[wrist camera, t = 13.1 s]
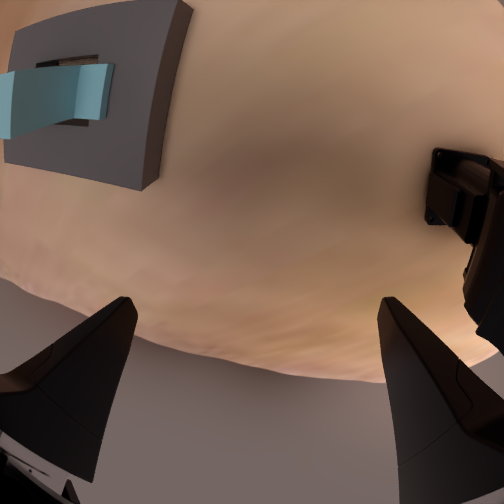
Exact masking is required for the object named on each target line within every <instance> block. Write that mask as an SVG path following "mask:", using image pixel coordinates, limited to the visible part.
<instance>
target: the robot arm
mask: <svg viewBox="0 0 504 504" xmlns="http://www.w3.org/2000/svg"><path fill="white" fill-rule="evenodd" d="M439 152H440V156H439V157H438V153H439ZM486 161H487V163H486ZM426 204H427V207H426V213H425V221H426V223H427V224H428V225H447V226H448V227H450V228H452V229H453V230H454V231H455V232H456V233H457V235H458V236H459V237H460V238H461V239H462V240H463V241H464V242H465V243H466V244H470V245H471V246H472V247H473V250H472V253H471V256H470V259H469V262H468V265H467V268H465V270H464V273H463V277H464V285H463V293H464V298H465V303H464V307H465V309H466V310H467V312H468V314H469V316H470V317H471V318H472V320H473V321H474V322H475V323H476V324H477V325H478V328H477V330H476V334H477V335H478V336H480V337H482V338H484V339H486V340H488V341H489V342H490V343H492V344H493V345H494V346H495V347H496V348H497V349H498V350H499V351H500V352H501V353H502V354H503V356H504V161H501V160H496V159H492V158H489V157H487V156H484V155H479V154H474V153H469V152H463V151H457V150H451V149H444V148H435V149H434V151H433V157H432V168H431V173H430V175H429V184H428V192H427V199H426ZM430 217H432V219H431V220H429V218H430ZM137 320H138V313H137V310H136V308H135V306H134V304H133V302H132V300H131V298H130V297H123V296H121V297H119V298H117V299H116V300H114V301H113V302H111V303H110V304H108V305H107V306H105V307H104V308H102V309H101V310H99V311H98V312H96V313H95V314H94V315H92V316H91V317H89V318H88V319H86V320H85V321H84V322H82V323H81V324H79V325H78V326H76V327H75V328H74V329H72V330H71V331H69V332H68V333H66V334H65V335H64V336H62V337H61V338H59V339H58V340H57V341H55V342H54V343H53V344H51V345H50V346H48V347H47V348H45V349H44V350H43V351H41V352H40V353H38V354H37V355H36V356H34V357H32V358H31V359H29V360H28V361H26V362H24V363H23V364H21V365H20V366H18V367H16V368H15V369H14V370H12V371H10V372H8V373H6V374H0V504H80V502H79V500H78V497H77V495H76V492H75V490H74V487H73V485H72V482H71V480H69V479H67V478H68V475H69V473H70V474H73V475H75V476H77V477H79V478H81V479H83V480H85V481H88V482H90V483H92V482H93V479H94V474H95V469H96V465H97V460H98V456H99V452H100V447H101V444H102V439H103V435H104V432H105V428H106V424H107V421H108V417H109V414H110V410H111V406H112V403H113V400H114V397H115V393H116V390H117V387H118V384H119V381H120V377H121V375H122V371H123V369H124V366H125V363H126V360H127V357H128V354H129V351H130V347H131V343H132V339H133V335H134V331H135V327H136V323H137ZM377 322H378V330H379V338H380V347H381V356H382V363H383V368H384V373H385V378H386V383H387V388H388V394H389V400H390V406H391V412H392V419H393V426H394V434H395V442H396V450H397V462H398V477H399V499H400V504H504V400H503V399H502V398H501V397H500V396H499V395H498V394H497V393H496V392H494V391H493V390H492V389H491V388H490V387H489V386H488V385H486V384H485V383H484V382H483V381H482V380H481V379H480V378H479V377H478V376H477V375H476V374H475V373H473V371H472V370H470V368H468V367H467V366H466V365H465V363H464V362H463V361H462V360H461V359H459V358H458V356H457V355H456V354H455V353H454V352H453V351H452V350H451V349H450V348H449V347H448V346H447V345H446V344H445V343H444V342H442V341H441V340H440V339H439V338H438V337H437V336H436V335H435V334H434V333H433V332H432V331H431V330H430V329H429V328H428V327H427V326H426V325H425V324H424V323H423V322H422V321H421V320H419V319H418V318H417V317H416V316H415V315H414V314H413V313H412V312H411V311H410V310H409V309H408V308H406V307H405V306H404V305H403V304H402V303H401V302H400V301H399V300H398V299H396V298H395V297H384V298H383V299H382V301H381V304H380V308H379V312H378V316H377Z"/></svg>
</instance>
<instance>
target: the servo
mask: <svg viewBox="0 0 504 504" xmlns="http://www.w3.org/2000/svg"><path fill="white" fill-rule="evenodd" d="M113 68H114V64H91V65H70V66H53V67H41V68H32V69H24V70H17V71H13V72H9V73H5V74H1V75H0V139H13V138H15V137H18V136H20V135H23V134H25V133H28V132H31V131H34V130H37V129H40V128H43V127H46V126H49V125H52V124H55V123H58V122H62V121H65V120H69V119H72V118H80V119H93V120H101V119H105V118H106V112H107V104H108V97H109V90H110V84H111V78H112V73H113Z"/></svg>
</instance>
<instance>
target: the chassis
mask: <svg viewBox="0 0 504 504" xmlns="http://www.w3.org/2000/svg"><path fill="white" fill-rule="evenodd" d="M192 12H193V9H192V8H191V7H190V6H189V5H187V4H186V3H185V2H183V1H182V0H134V1H125V2H118V3H112V4H106V5H100V6H95V7H90V8H86V9H81V10H77V11H73V12H70V13H66V14H62V15H59V16H56V17H53V18H49V19H46V20H43V21H41V22H38V23H35V24H32V25H30V26H27V27H25V28H22V29H20V30H17V31H15V35H14V39H13V44H12V49H11V54H10V59H9V65H8V72H7V73H9V72H13V71H17V70H24V69H32V68H41V67H53V66H58V62H60V61H67V60H75V59H84V58H96V57H98V61H97V64H114V68H113V73H112V78H111V84H110V90H109V97H108V104H107V112H106V118H105V119H101V120H93V119H80V118H72V119H69V120H65V121H62V122H58V123H55V124H52V125H49V126H46V127H43V128H40V129H37V130H34V131H31V132H28V133H25V134H23V135H20V136H18V137H15V138H13V139H4V161H5V163H10V164H16V165H21V166H26V167H32V168H37V169H42V170H47V171H52V172H57V173H62V174H67V175H71V176H76V177H81V178H85V179H90V180H94V181H99V182H103V183H108V184H112V185H116V186H121V187H125V188H129V189H134V190H138V191H142V190H144V189H145V188H146V187H147V186H149V185H150V184H151V183H153V182H154V181H155V180H157V179H158V176H159V168H160V160H161V152H162V145H163V139H164V132H165V126H166V120H167V114H168V109H169V104H170V99H171V94H172V89H173V84H174V80H175V75H176V71H177V67H178V62H179V58H180V54H181V51H182V47H183V43H184V39H185V36H186V32H187V29H188V25H189V22H190V19H191V16H192Z"/></svg>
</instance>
